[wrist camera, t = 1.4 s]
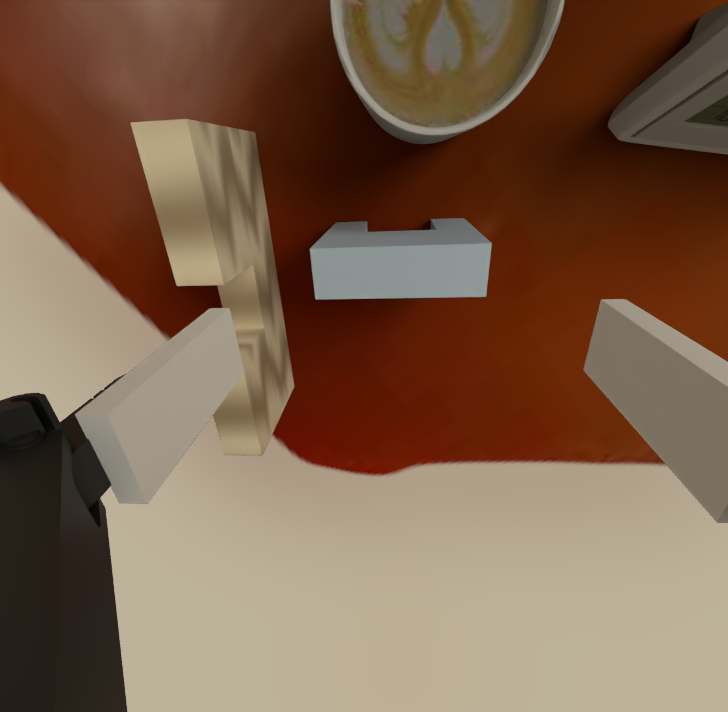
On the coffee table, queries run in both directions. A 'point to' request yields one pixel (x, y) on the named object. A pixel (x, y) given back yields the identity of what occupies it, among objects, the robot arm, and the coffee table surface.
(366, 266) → the bridge plate
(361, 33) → the coffee mug
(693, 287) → the coffee table surface
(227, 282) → the maple rail
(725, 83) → the digital clock
